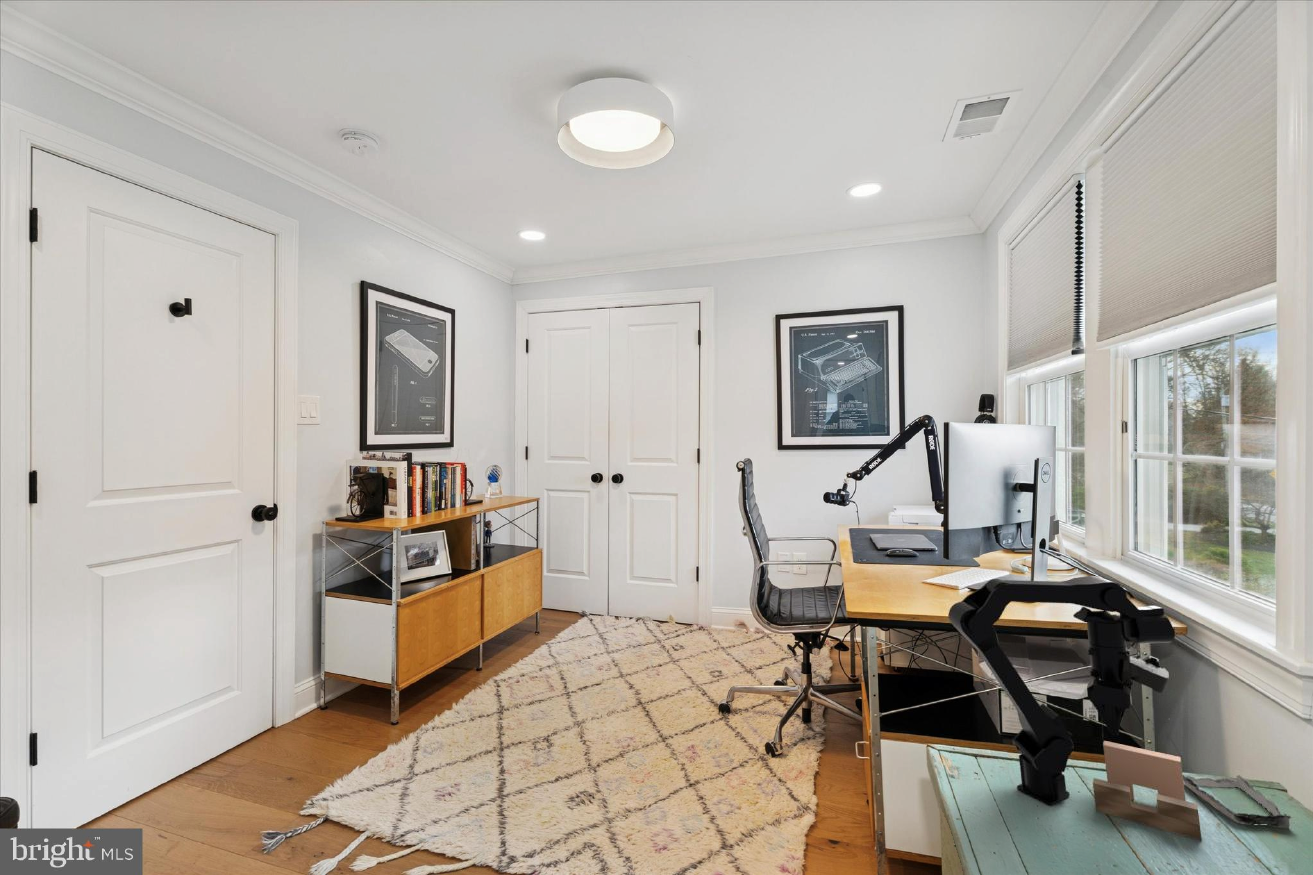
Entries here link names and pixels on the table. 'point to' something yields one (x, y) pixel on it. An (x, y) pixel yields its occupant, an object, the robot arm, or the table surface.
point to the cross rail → (1148, 809)
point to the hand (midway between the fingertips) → (1116, 725)
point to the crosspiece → (1144, 769)
